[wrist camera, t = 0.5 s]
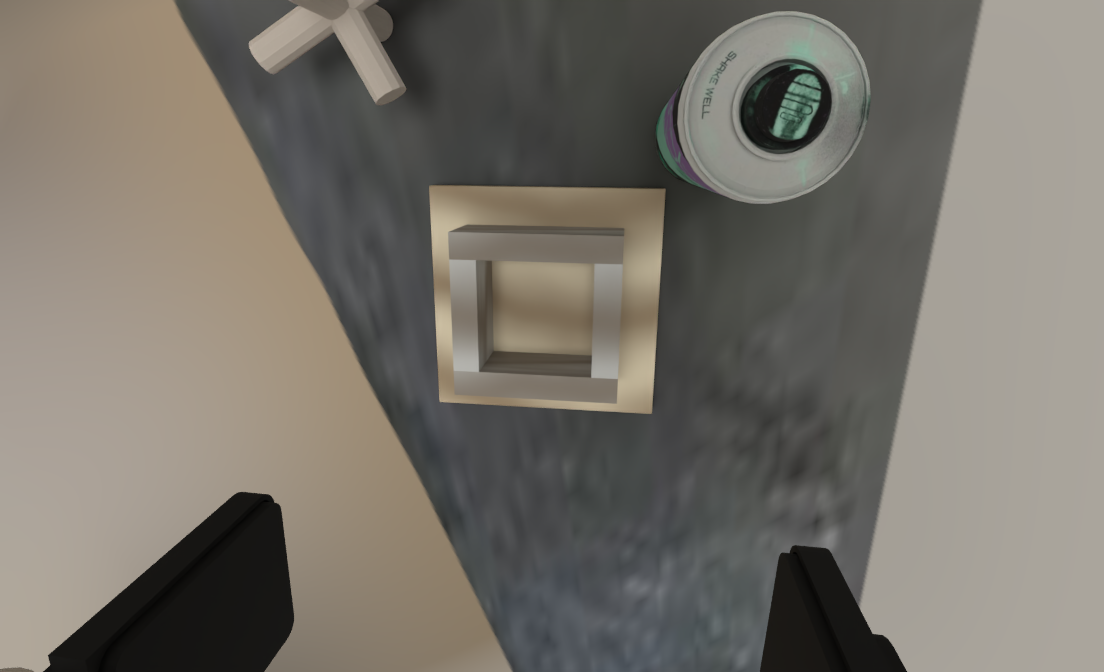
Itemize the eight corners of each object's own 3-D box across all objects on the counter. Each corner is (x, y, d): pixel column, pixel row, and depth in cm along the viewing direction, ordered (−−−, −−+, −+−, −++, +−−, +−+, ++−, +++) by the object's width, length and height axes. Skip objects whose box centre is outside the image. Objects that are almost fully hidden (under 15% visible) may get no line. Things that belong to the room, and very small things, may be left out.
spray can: (742, 70, 33) (899, -52, 14) (760, 169, 34) (925, 180, 15) (645, 100, 34) (667, 23, 15) (666, 194, 35) (711, 235, 16)
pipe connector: (493, 59, 34) (442, 21, 25) (356, 147, 37) (262, 142, 27) (402, -114, 32) (308, -228, 23) (264, -10, 35) (128, -74, 25)
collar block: (435, 184, 37) (405, 188, 32) (664, 188, 35) (670, 192, 30) (444, 395, 41) (419, 427, 36) (651, 406, 39) (654, 442, 34)
